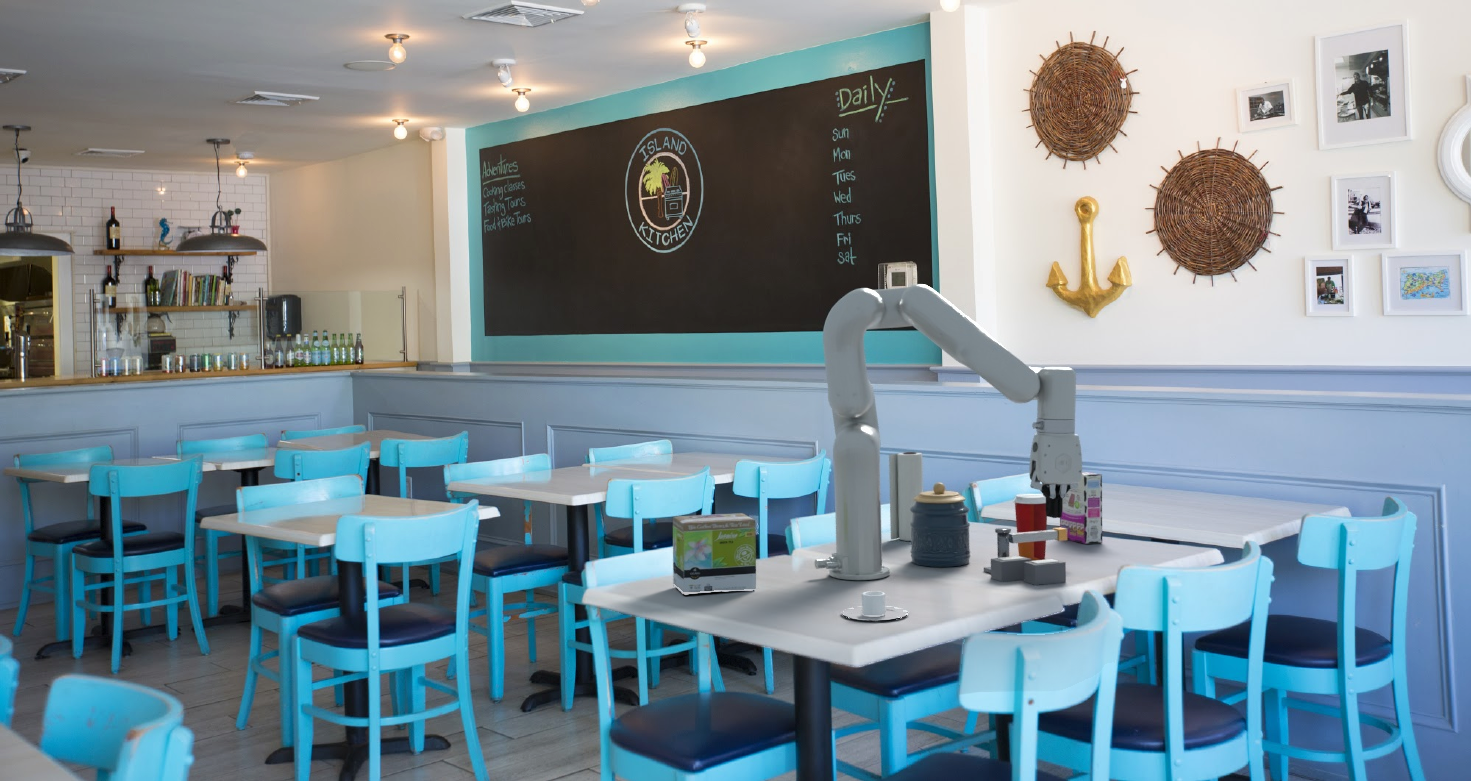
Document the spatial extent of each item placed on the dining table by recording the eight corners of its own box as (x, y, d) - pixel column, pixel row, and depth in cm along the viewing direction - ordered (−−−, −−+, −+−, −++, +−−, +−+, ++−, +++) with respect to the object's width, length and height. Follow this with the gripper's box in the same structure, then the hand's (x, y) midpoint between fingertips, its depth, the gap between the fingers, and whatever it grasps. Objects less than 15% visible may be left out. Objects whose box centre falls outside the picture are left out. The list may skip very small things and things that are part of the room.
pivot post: (999, 576, 246) (998, 532, 246) (983, 571, 252) (982, 528, 251) (1024, 573, 248) (1023, 530, 248) (1008, 568, 254) (1007, 526, 253)
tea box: (684, 597, 234) (682, 522, 233) (673, 587, 243) (670, 515, 243) (757, 591, 238) (755, 517, 237) (744, 582, 247) (742, 510, 247)
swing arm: (1013, 545, 249) (1013, 533, 249) (1007, 543, 251) (1007, 531, 251) (1067, 540, 253) (1067, 528, 253) (1060, 538, 256) (1060, 527, 255)
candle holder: (904, 608, 220) (904, 585, 220) (912, 624, 208) (911, 599, 208) (839, 610, 221) (839, 586, 221) (843, 625, 209) (843, 601, 209)
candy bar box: (1104, 543, 281) (1103, 473, 281) (1085, 544, 280) (1084, 475, 279) (1076, 536, 292) (1076, 469, 291) (1059, 537, 291) (1058, 470, 290)
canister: (899, 561, 266) (897, 482, 265) (946, 555, 272) (944, 477, 271) (934, 570, 254) (933, 487, 254) (982, 563, 260) (981, 483, 259)
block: (1001, 581, 240) (1001, 560, 240) (991, 578, 244) (990, 557, 244) (1031, 578, 243) (1031, 558, 243) (1020, 575, 247) (1020, 554, 246)
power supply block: (1035, 585, 236) (1035, 564, 236) (1024, 581, 240) (1024, 560, 240) (1065, 582, 238) (1065, 561, 238) (1054, 578, 242) (1053, 557, 242)
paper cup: (1046, 555, 268) (1046, 492, 268) (1052, 561, 261) (1051, 497, 260) (1011, 555, 269) (1010, 493, 268) (1016, 561, 261) (1015, 497, 261)
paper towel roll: (927, 538, 295) (926, 451, 294) (917, 542, 289) (916, 454, 289) (900, 536, 298) (899, 451, 297) (890, 540, 293) (888, 453, 292)
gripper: (1034, 429, 238) (1032, 521, 239) (1098, 428, 243) (1095, 518, 244) (1013, 426, 245) (1012, 515, 246) (1075, 425, 250) (1073, 512, 251)
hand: (1053, 516), depth 245 cm, fingers closed
